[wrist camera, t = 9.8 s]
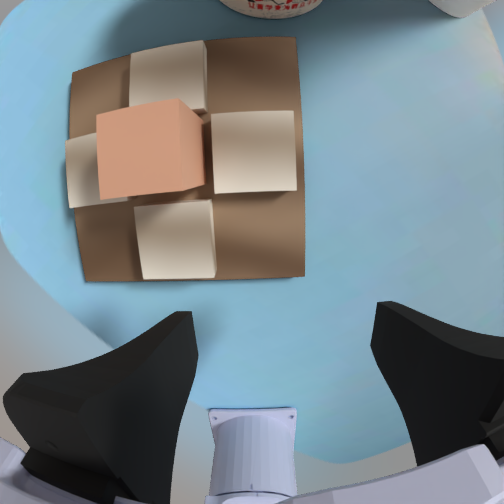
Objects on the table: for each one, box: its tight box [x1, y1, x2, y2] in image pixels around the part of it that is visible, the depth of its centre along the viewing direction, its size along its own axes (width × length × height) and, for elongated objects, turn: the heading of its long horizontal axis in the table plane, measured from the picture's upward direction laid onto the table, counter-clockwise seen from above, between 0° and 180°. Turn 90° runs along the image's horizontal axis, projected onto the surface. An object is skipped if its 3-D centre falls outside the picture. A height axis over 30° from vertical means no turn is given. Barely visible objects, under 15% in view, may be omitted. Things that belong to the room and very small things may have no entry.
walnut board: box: [65, 37, 305, 281], centre depth 17 cm, size 16×16×2 cm
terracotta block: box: [96, 98, 206, 200], centre depth 14 cm, size 4×4×6 cm
